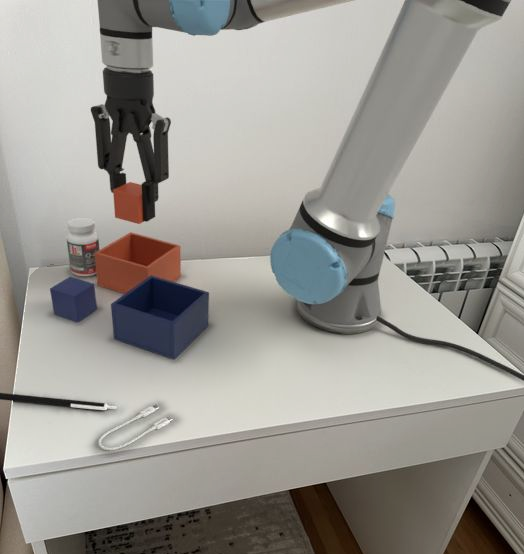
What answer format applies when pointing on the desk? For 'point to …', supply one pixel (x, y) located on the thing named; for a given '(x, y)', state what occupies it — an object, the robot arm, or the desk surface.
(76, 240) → the pill bottle
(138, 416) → the electronic cable
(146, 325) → the navy bin
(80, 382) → the desk surface
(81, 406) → the pen
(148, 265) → the terracotta bin
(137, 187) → the terracotta block
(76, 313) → the navy block
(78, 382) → the desk surface
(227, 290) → the desk surface
